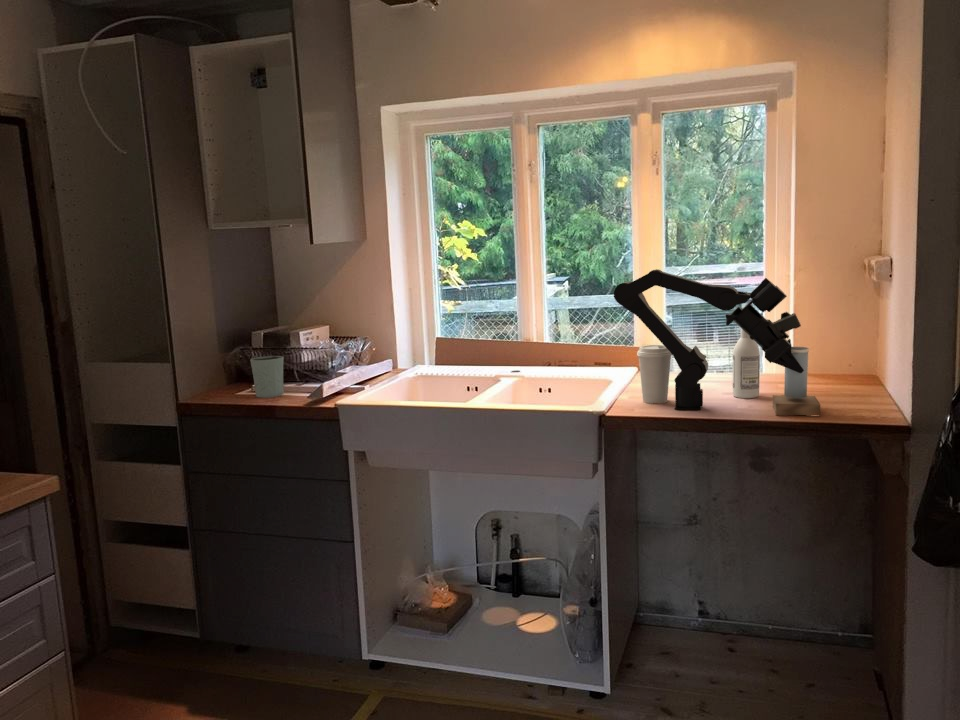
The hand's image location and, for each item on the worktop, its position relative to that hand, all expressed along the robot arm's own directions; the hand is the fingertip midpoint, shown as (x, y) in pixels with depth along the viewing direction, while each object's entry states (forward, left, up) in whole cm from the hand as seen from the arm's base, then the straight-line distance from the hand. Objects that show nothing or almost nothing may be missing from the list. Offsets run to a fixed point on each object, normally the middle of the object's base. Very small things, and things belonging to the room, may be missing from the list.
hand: (802, 370), depth 190 cm
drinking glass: (-156, +10, -11) cm, 157 cm away
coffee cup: (-36, +10, -11) cm, 39 cm away
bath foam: (-12, +18, -11) cm, 24 cm away
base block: (-1, 0, -10) cm, 11 cm away
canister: (-1, 0, -7) cm, 7 cm away
